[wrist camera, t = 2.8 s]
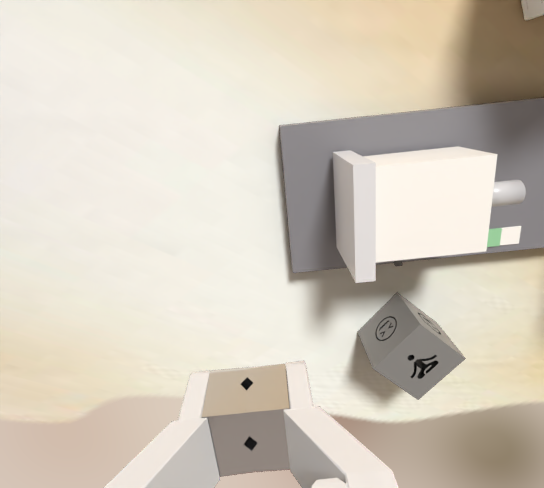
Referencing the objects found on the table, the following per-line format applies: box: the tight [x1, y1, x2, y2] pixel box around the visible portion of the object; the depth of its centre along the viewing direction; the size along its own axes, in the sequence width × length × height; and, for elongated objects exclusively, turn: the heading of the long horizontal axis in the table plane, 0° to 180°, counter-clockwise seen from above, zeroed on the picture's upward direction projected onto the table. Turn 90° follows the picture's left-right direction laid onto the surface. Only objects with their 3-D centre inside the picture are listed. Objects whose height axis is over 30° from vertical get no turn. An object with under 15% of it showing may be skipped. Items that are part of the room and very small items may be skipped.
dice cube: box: [358, 292, 466, 400], centre depth 30 cm, size 5×5×5 cm
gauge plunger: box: [333, 146, 526, 283], centre depth 24 cm, size 12×9×6 cm
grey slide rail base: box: [279, 97, 544, 273], centre depth 23 cm, size 28×11×10 cm, turn 96°
